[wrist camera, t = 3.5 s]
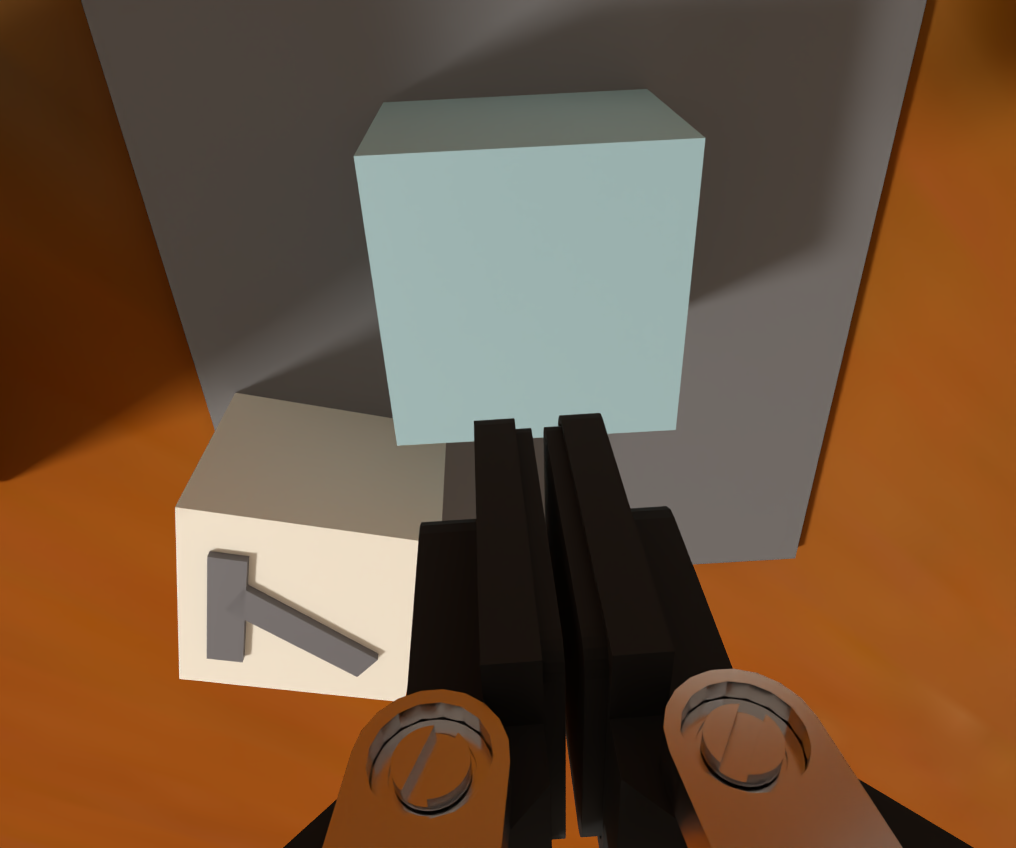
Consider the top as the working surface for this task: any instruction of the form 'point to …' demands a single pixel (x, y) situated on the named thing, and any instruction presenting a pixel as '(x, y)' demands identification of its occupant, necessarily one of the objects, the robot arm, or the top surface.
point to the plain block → (531, 258)
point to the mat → (511, 72)
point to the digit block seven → (303, 550)
